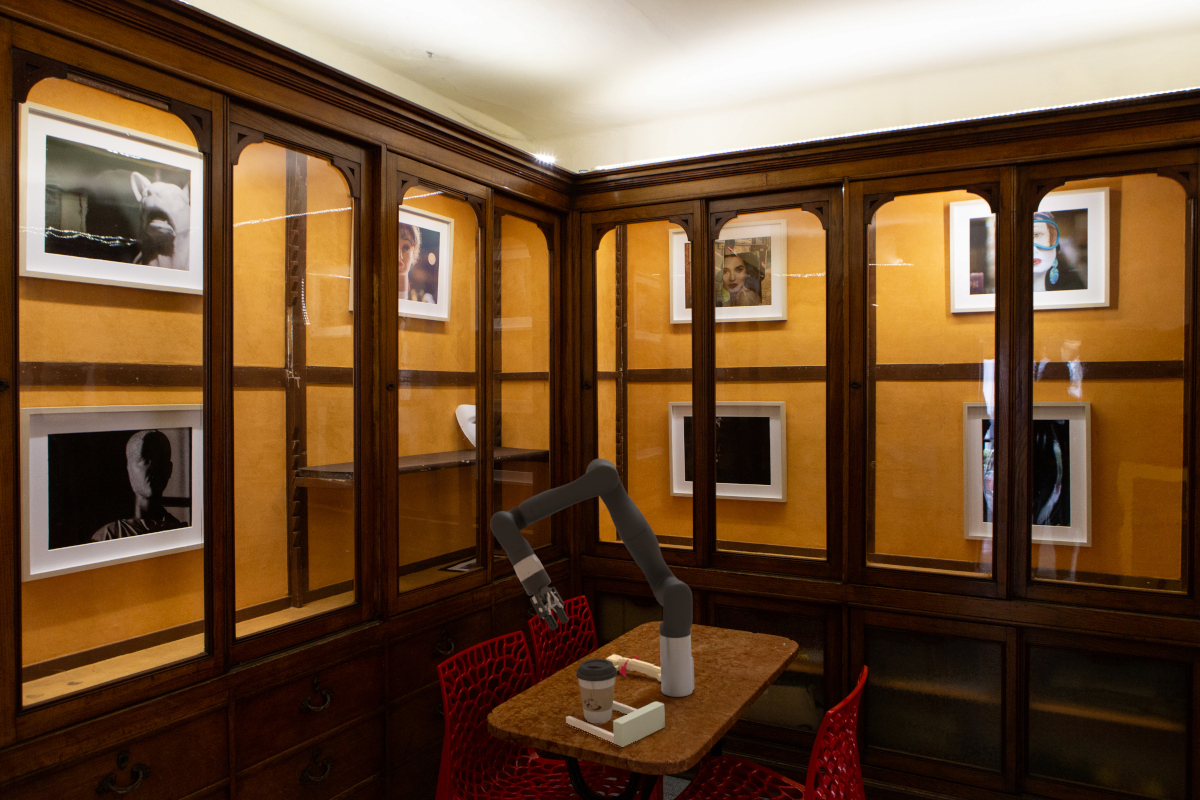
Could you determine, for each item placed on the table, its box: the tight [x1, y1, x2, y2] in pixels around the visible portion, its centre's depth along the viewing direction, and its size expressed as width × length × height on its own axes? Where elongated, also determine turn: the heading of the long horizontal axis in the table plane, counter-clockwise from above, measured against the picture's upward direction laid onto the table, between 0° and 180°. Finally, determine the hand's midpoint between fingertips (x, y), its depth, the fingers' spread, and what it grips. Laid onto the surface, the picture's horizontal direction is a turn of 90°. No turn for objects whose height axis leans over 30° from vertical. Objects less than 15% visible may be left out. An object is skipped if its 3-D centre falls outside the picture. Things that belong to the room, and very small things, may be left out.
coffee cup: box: [575, 658, 618, 724], centre depth 207 cm, size 11×11×15 cm
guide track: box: [565, 700, 666, 748], centre depth 202 cm, size 16×21×6 cm
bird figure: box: [605, 653, 661, 682], centre depth 238 cm, size 10×9×25 cm
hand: (560, 625), depth 210 cm, fingers open, 8 cm apart
